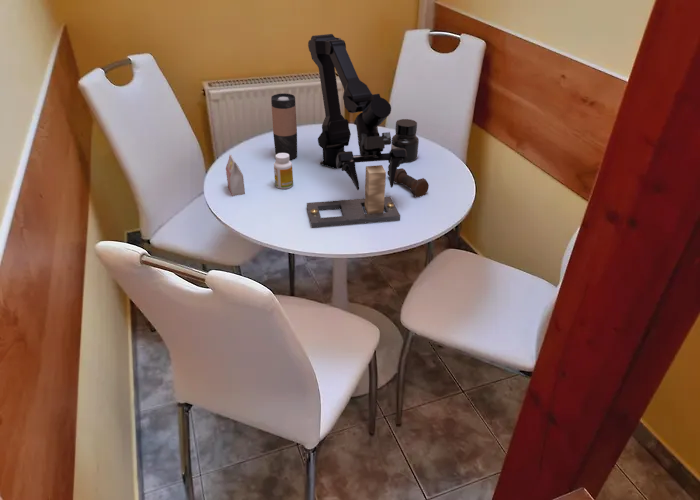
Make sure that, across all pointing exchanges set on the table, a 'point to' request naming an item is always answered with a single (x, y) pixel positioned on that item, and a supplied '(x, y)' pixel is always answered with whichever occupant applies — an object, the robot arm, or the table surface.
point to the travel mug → (284, 124)
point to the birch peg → (374, 189)
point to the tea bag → (234, 178)
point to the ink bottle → (406, 138)
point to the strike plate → (350, 213)
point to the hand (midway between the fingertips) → (375, 188)
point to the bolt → (411, 182)
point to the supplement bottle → (283, 171)
